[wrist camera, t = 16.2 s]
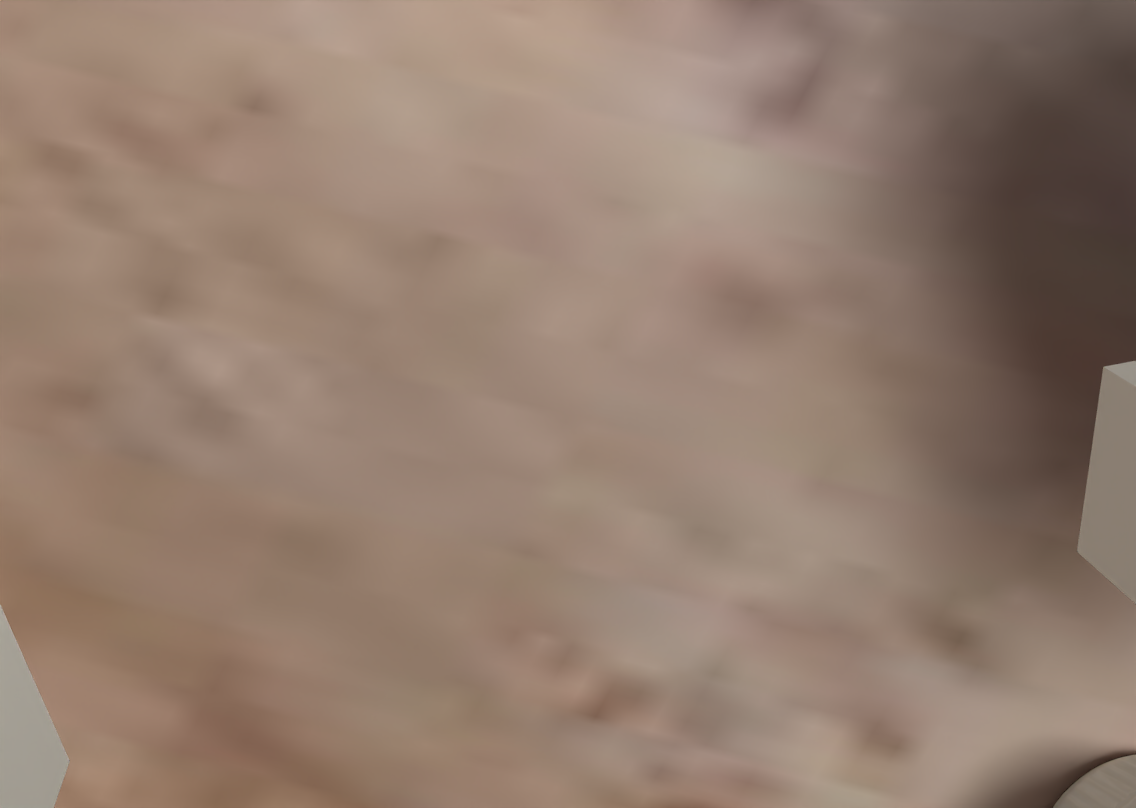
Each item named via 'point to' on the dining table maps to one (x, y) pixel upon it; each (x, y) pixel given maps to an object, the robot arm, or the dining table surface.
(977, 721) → the dining table surface
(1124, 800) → the ramekin
